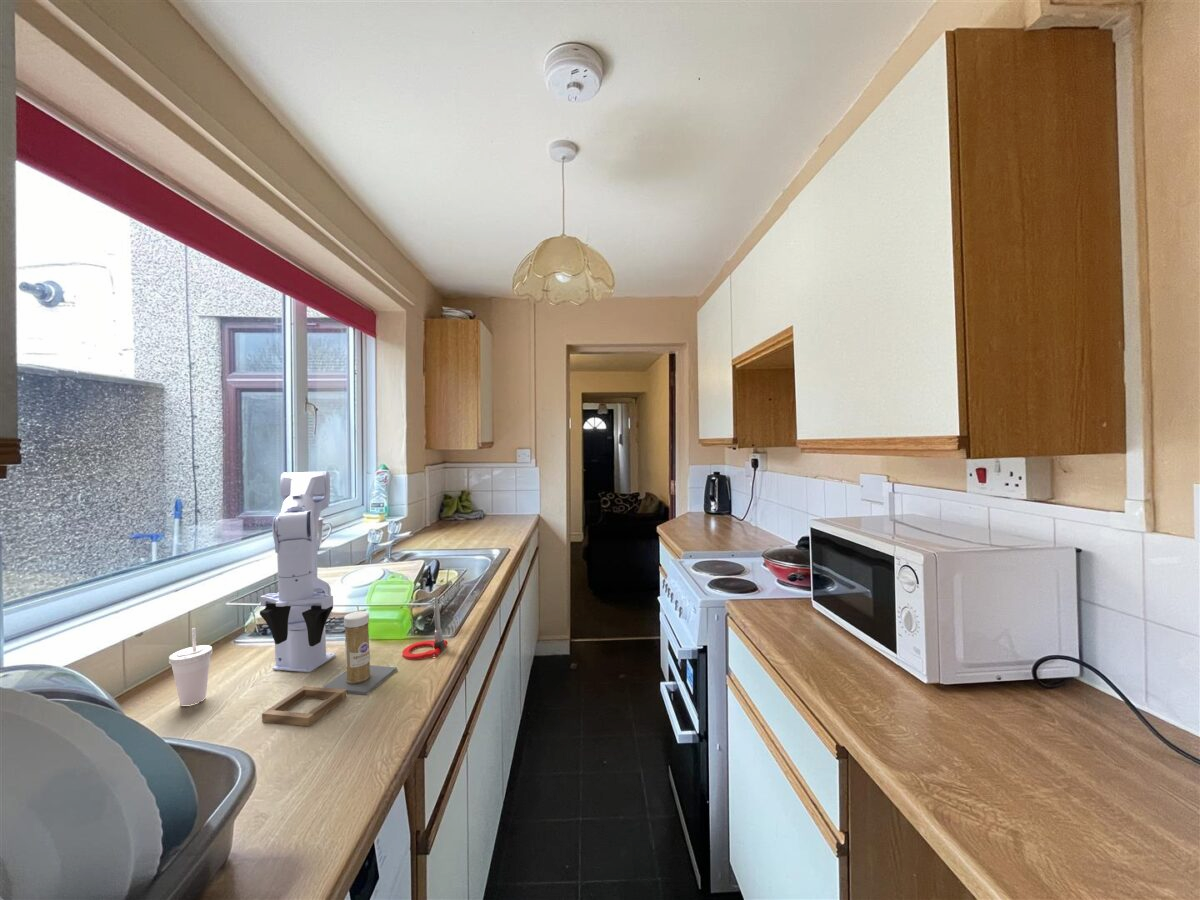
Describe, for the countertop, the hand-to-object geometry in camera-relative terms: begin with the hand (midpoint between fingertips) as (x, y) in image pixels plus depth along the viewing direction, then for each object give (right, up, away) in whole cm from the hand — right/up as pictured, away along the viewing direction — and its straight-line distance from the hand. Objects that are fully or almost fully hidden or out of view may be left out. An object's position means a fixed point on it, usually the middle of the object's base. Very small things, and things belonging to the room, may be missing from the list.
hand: (298, 643), depth 92 cm
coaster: (+9, -10, +6) cm, 15 cm away
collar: (+4, -10, -4) cm, 12 cm away
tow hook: (+18, -10, +19) cm, 27 cm away
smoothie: (-19, -11, -1) cm, 22 cm away
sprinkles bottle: (+9, -10, +5) cm, 14 cm away
